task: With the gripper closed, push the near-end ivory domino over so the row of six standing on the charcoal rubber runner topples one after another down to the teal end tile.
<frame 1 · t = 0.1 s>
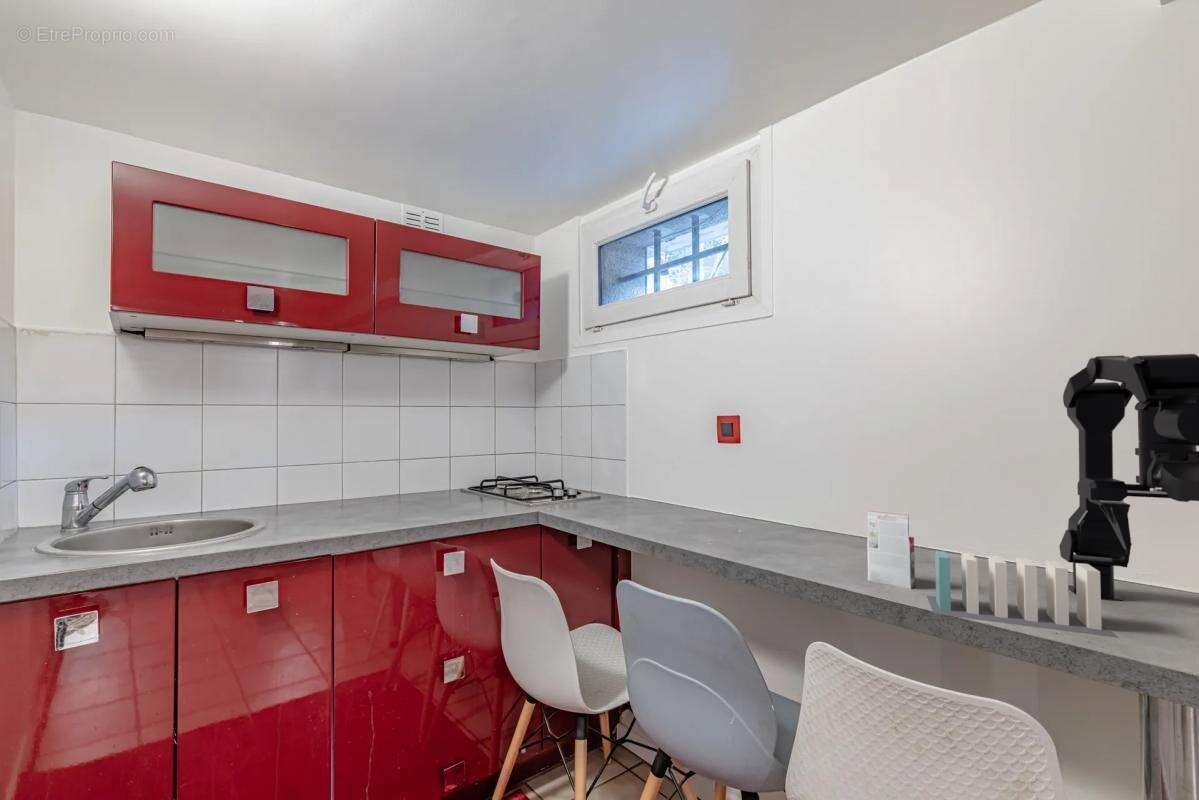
hand: (1169, 552, 77), 14 cm above the countertop, fingers open, 9 cm apart
domino 2: (1057, 619, 89), resting on runner mat
domino 3: (1027, 616, 91), resting on runner mat
domino 5: (970, 609, 94), resting on runner mat
domino 4: (998, 612, 93), resting on runner mat
domino 1: (1088, 623, 88), resting on runner mat
runner mat: (1012, 616, 92), on the countertop
domino 6: (943, 605, 96), resting on runner mat
ink box: (891, 585, 109), on the countertop
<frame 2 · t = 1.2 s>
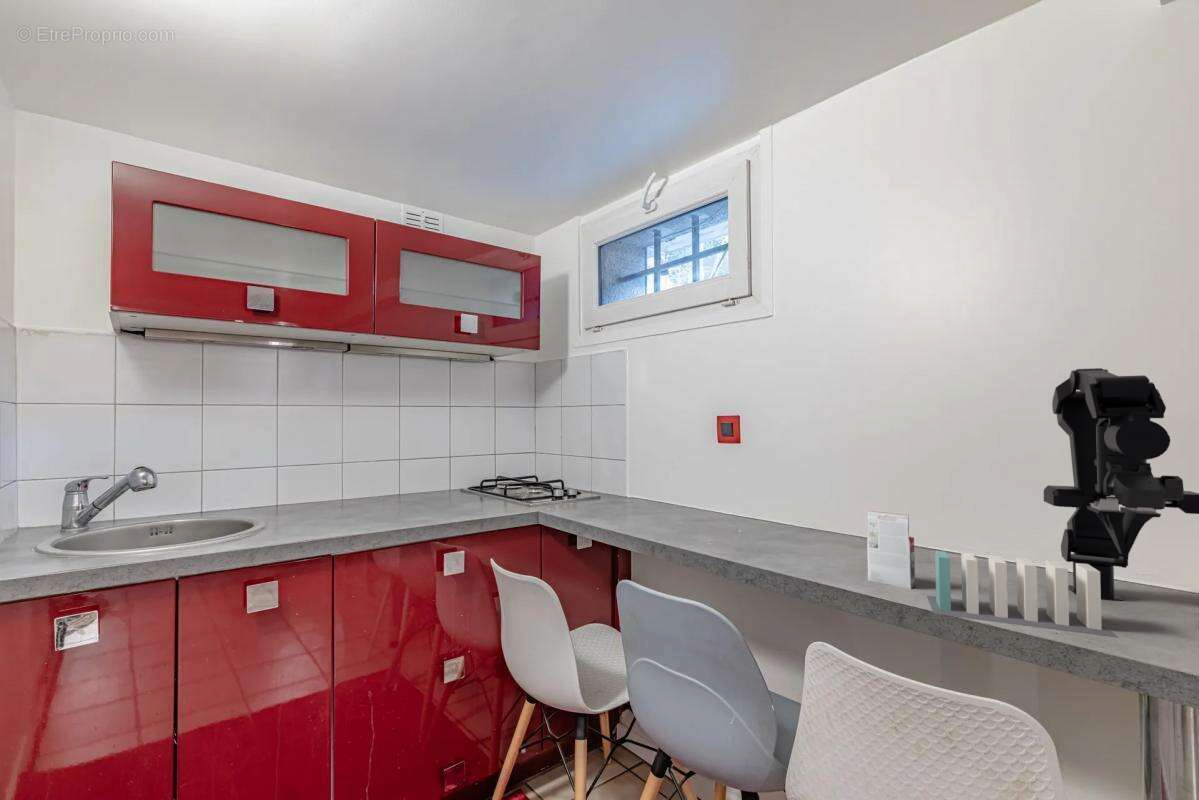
hand: (1123, 553, 86), 12 cm above the countertop, fingers closed
nothing on the countertop moved.
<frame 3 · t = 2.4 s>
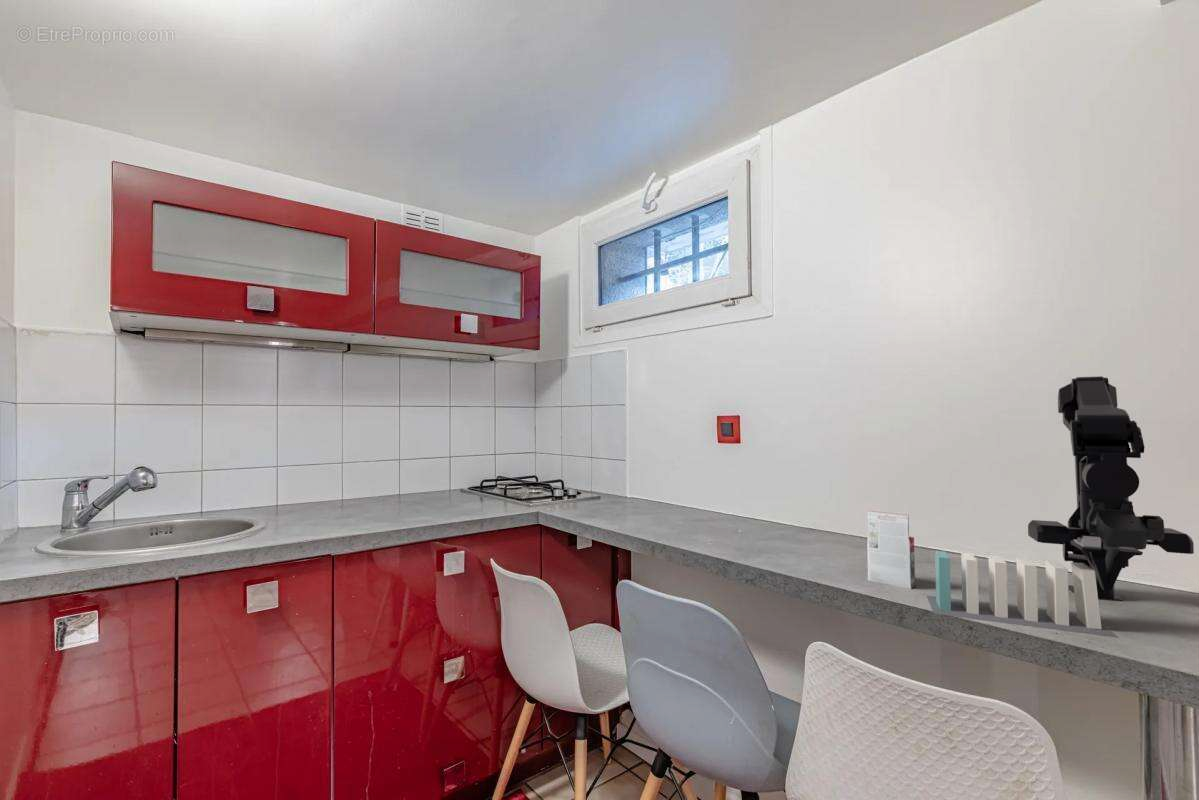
hand: (1106, 590, 87), 6 cm above the countertop, fingers closed
domino 1: (1088, 623, 88), resting on runner mat, touching gripper
everything else where it was.
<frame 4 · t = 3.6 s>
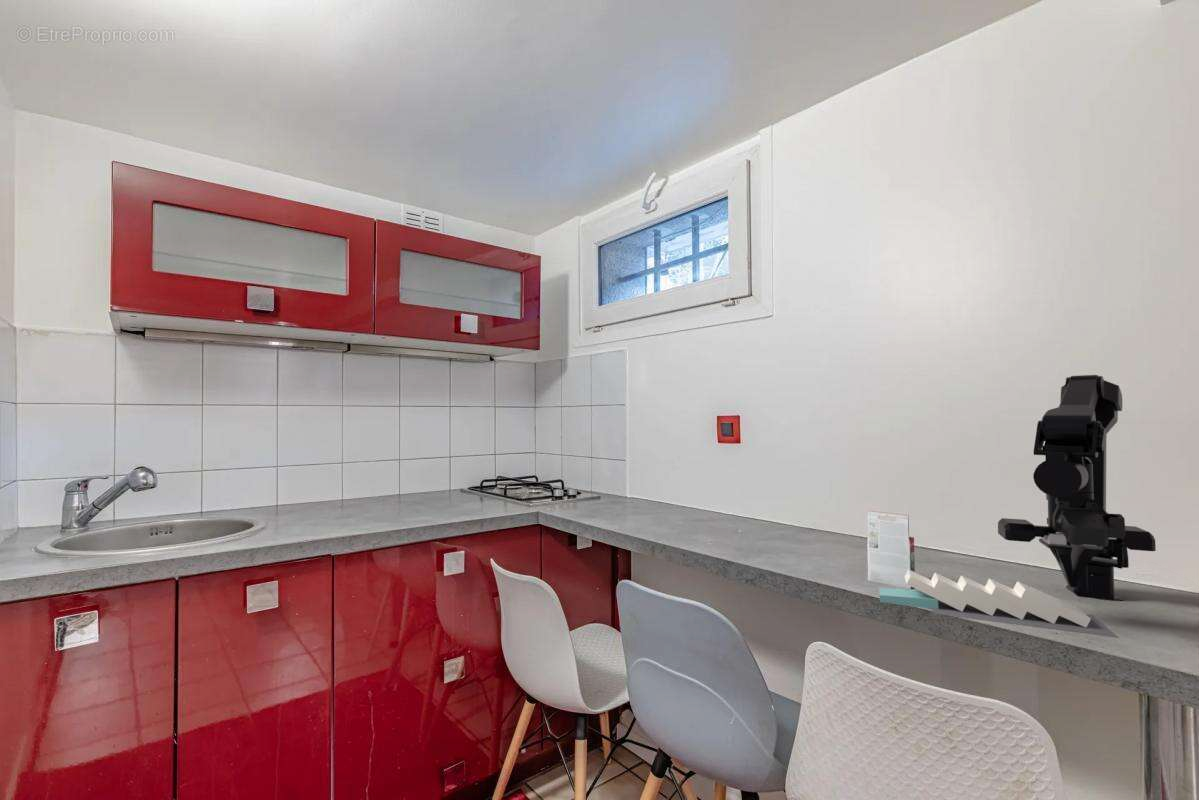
hand: (1072, 586, 89), 6 cm above the countertop, fingers closed
domino 2: (1051, 614, 90), point 1 cm above the countertop, tilted 67°, touching domino 1, domino 3, runner mat
domino 3: (1020, 610, 92), point 1 cm above the countertop, tilted 67°, touching domino 2, domino 4, runner mat
domino 5: (962, 603, 95), point 1 cm above the countertop, tilted 66°, touching domino 4, domino 6
domino 4: (991, 607, 93), point 1 cm above the countertop, tilted 66°, touching domino 3, domino 5, runner mat
domino 1: (1082, 618, 88), point 1 cm above the countertop, tilted 67°, touching domino 2
domino 6: (936, 600, 97), point 1 cm above the countertop, tilted 93°, touching domino 5, runner mat
everything else where it was.
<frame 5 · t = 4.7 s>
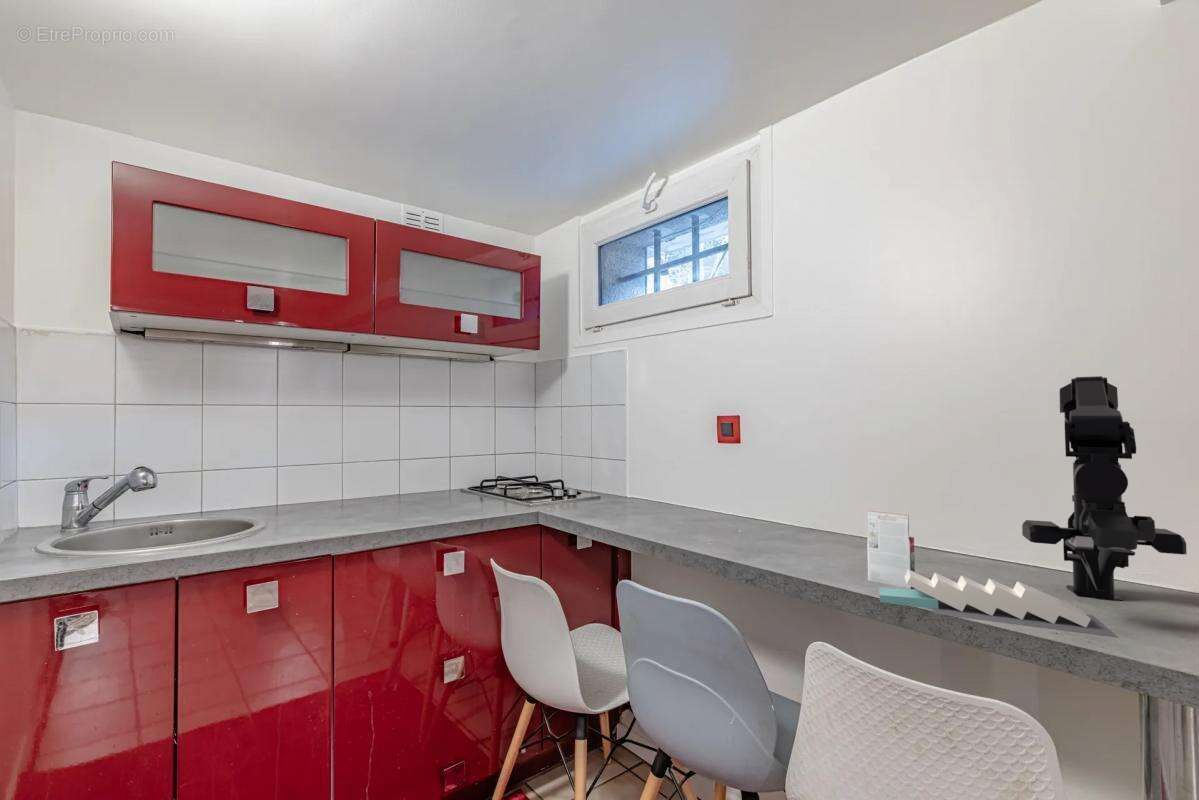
hand: (1099, 590, 87), 6 cm above the countertop, fingers closed
nothing on the countertop moved.
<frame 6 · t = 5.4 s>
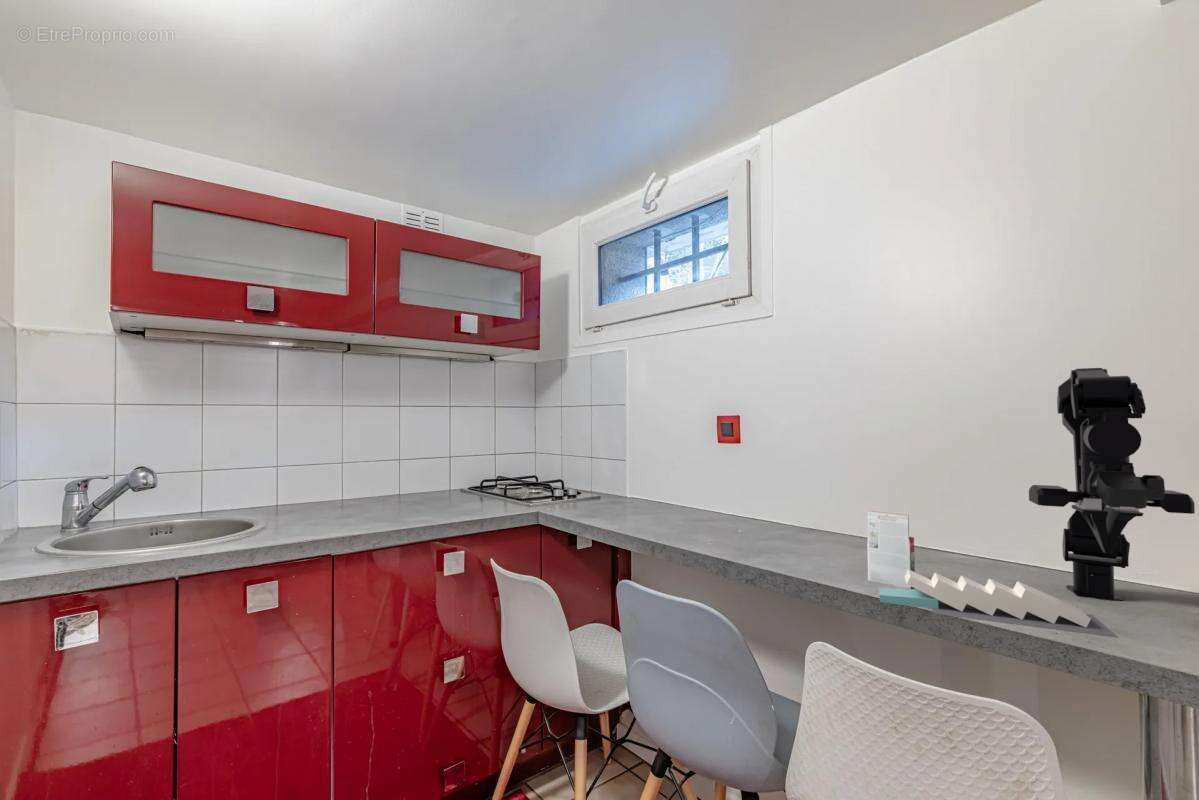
hand: (1107, 552, 87), 12 cm above the countertop, fingers closed
nothing on the countertop moved.
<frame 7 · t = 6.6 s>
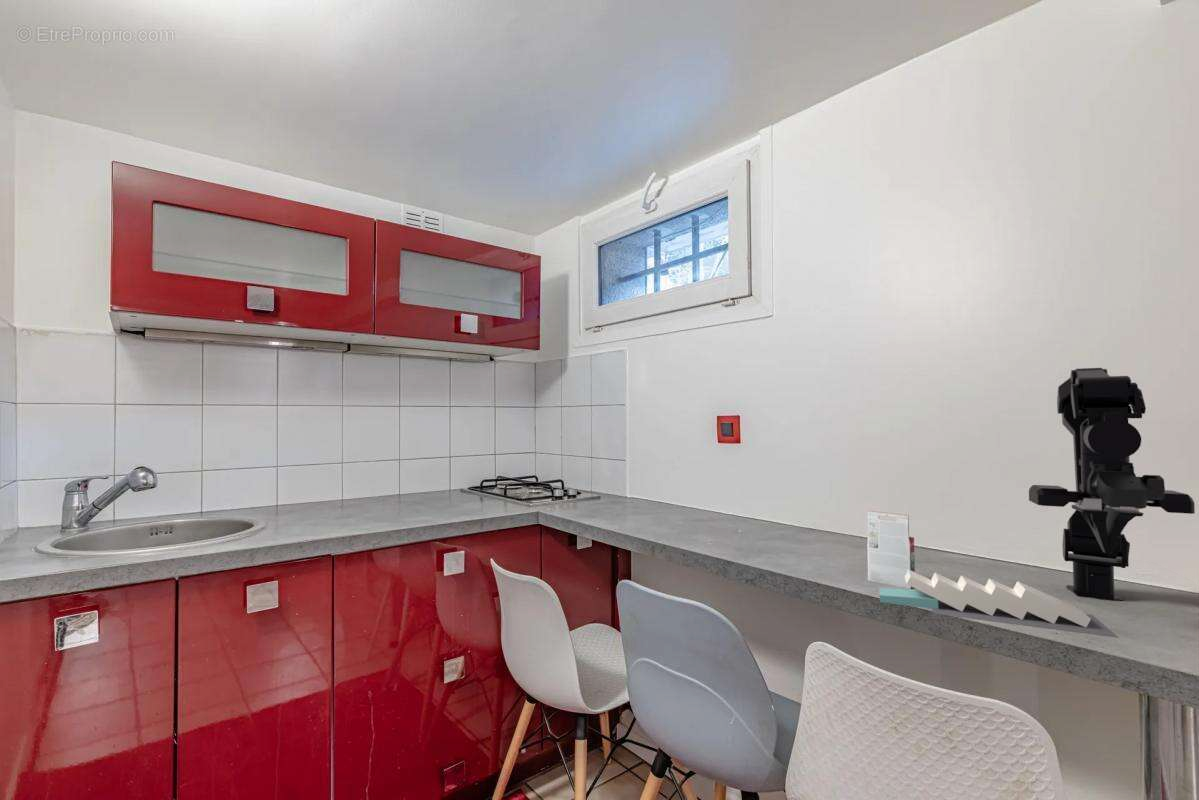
hand: (1107, 552, 87), 12 cm above the countertop, fingers closed
nothing on the countertop moved.
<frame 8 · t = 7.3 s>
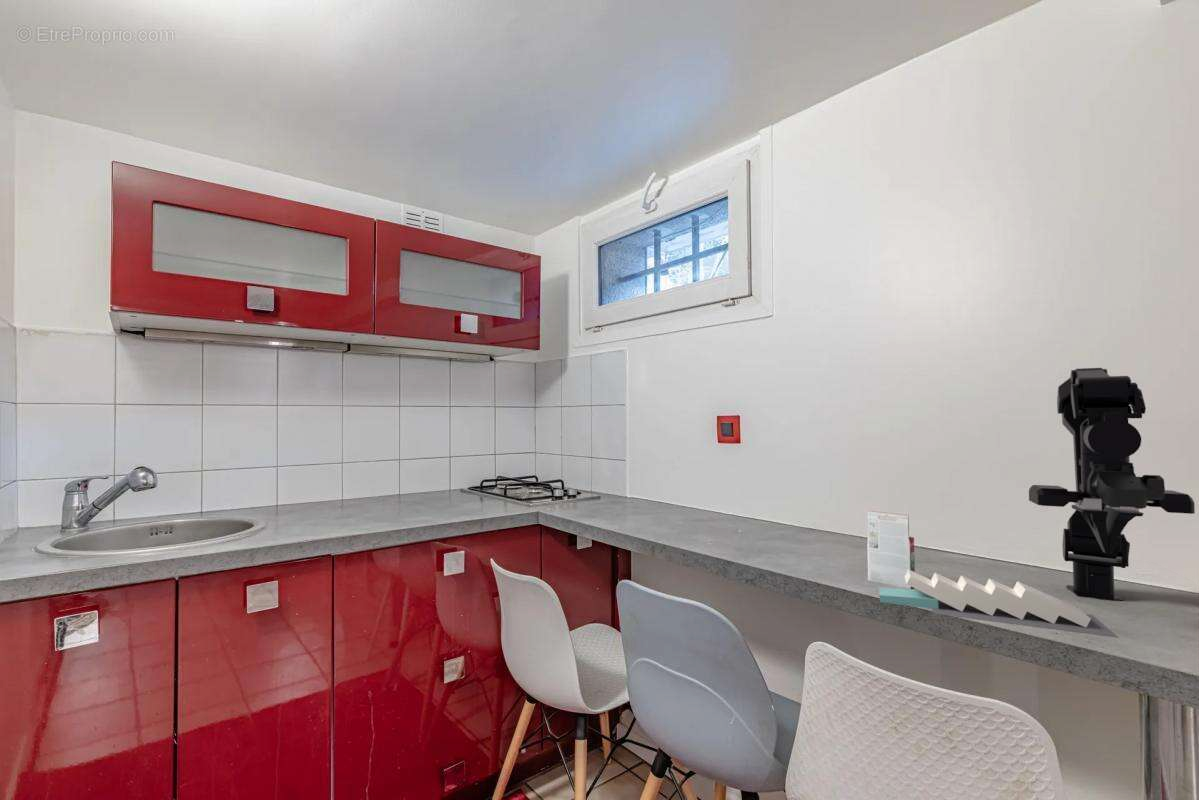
hand: (1107, 552, 87), 12 cm above the countertop, fingers closed
nothing on the countertop moved.
at the end: domino 6 tilted 93°; domino 1 tilted 67° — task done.
